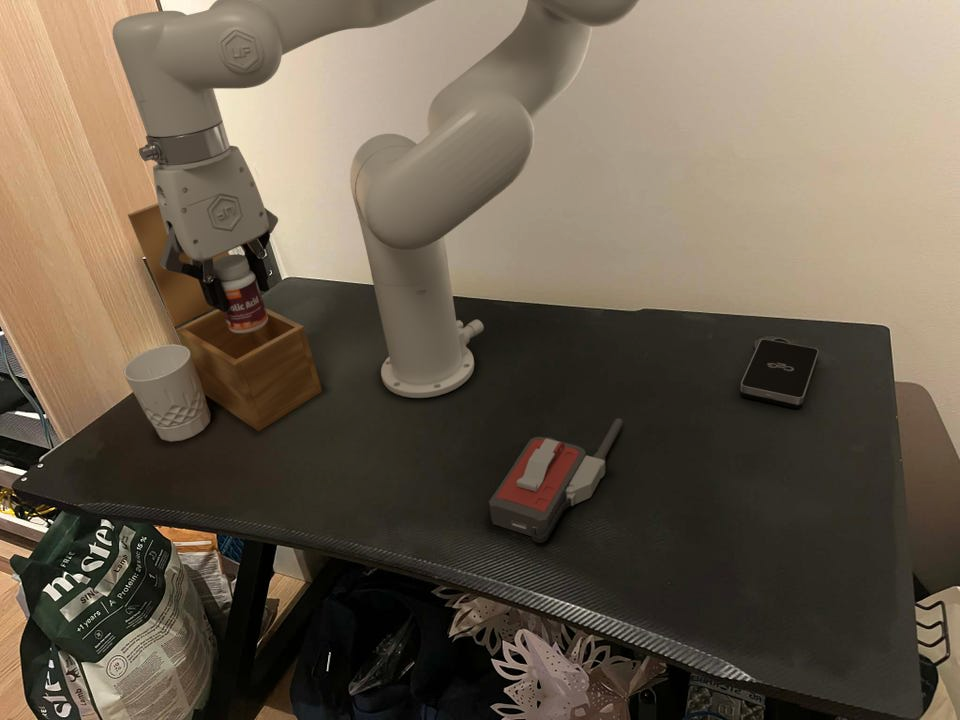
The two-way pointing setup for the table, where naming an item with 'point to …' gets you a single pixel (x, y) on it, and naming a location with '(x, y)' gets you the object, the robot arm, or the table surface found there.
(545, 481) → the walkie-talkie
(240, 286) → the pill bottle
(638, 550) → the table surface
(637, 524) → the table surface
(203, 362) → the box
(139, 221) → the caddy lid
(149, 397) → the white cup
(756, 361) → the external hard drive
